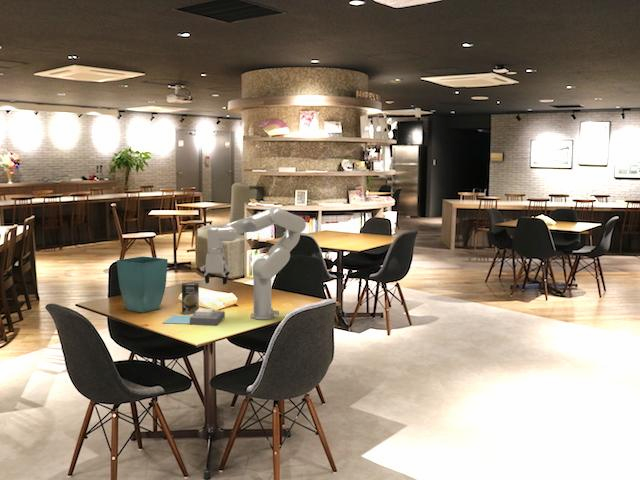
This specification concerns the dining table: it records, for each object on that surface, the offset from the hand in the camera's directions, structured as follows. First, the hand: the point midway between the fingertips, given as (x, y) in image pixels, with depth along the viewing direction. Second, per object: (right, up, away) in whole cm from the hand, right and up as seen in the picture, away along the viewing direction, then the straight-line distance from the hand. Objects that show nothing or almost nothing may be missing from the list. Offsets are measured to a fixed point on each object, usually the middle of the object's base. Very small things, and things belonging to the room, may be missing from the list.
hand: (216, 283), depth 328 cm
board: (-5, -20, +1) cm, 20 cm away
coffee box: (-17, -17, +19) cm, 31 cm away
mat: (-19, -19, +3) cm, 27 cm away
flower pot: (-45, -16, +25) cm, 54 cm away
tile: (-6, -16, +1) cm, 17 cm away
